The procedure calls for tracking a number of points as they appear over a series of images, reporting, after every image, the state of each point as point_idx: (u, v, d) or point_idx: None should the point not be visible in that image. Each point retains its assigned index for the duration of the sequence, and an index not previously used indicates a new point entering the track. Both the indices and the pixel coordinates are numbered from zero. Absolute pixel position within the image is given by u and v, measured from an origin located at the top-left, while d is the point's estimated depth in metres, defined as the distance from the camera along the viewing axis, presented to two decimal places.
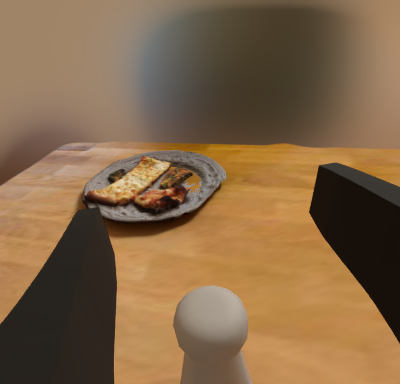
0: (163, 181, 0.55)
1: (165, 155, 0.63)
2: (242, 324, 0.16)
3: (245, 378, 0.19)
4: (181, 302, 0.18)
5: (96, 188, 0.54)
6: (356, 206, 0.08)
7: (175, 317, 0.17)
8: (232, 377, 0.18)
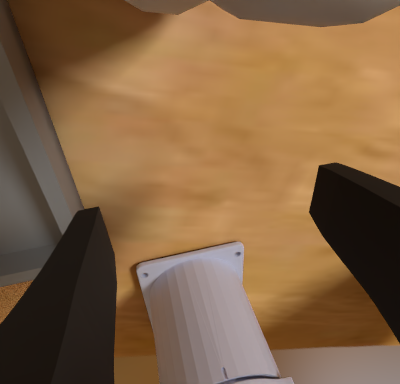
0: None
1: None
2: None
3: None
4: None
5: None
6: (356, 207, 0.08)
7: None
8: None
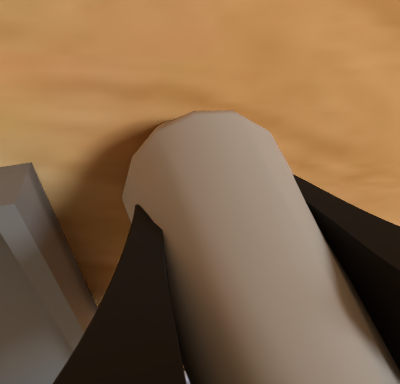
0: None
1: None
2: None
3: None
4: None
5: None
6: None
7: None
8: None
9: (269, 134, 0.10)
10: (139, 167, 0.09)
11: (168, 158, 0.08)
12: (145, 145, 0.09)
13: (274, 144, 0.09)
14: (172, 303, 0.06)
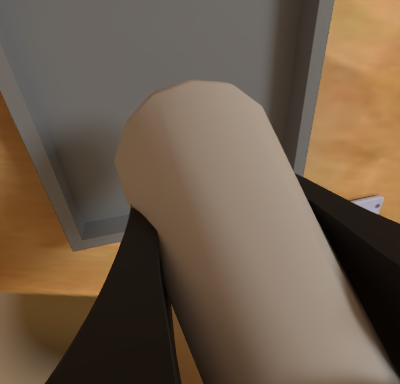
0: None
1: None
2: None
3: None
4: None
5: None
6: None
7: None
8: None
9: (261, 108, 0.10)
10: (135, 129, 0.09)
11: (165, 120, 0.08)
12: (141, 108, 0.09)
13: (266, 117, 0.10)
14: (163, 253, 0.07)
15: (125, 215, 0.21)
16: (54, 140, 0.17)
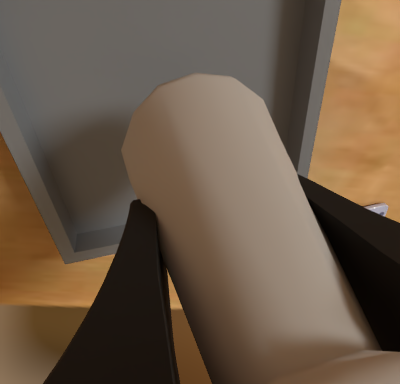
0: None
1: None
2: None
3: None
4: None
5: None
6: None
7: None
8: None
9: (262, 101, 0.10)
10: (141, 119, 0.09)
11: (169, 110, 0.09)
12: (147, 100, 0.10)
13: (266, 109, 0.10)
14: (165, 232, 0.07)
15: (120, 225, 0.20)
16: (44, 149, 0.16)
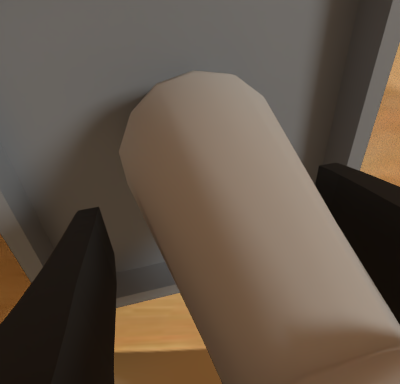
0: None
1: None
2: None
3: None
4: None
5: None
6: (356, 206, 0.08)
7: None
8: None
9: (263, 97, 0.10)
10: (139, 118, 0.09)
11: (168, 105, 0.08)
12: (145, 98, 0.09)
13: (267, 105, 0.10)
14: (167, 229, 0.07)
15: (122, 271, 0.17)
16: (28, 191, 0.13)
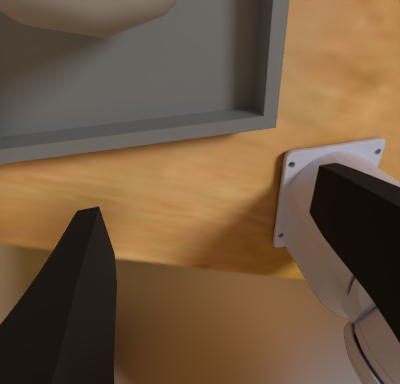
0: None
1: None
2: None
3: None
4: None
5: None
6: (356, 206, 0.08)
7: None
8: None
9: None
10: None
11: None
12: None
13: None
14: None
15: (54, 130, 0.17)
16: None
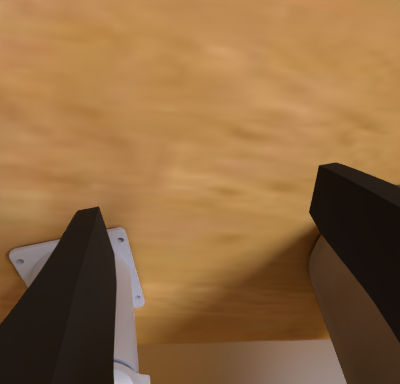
0: None
1: None
2: None
3: None
4: None
5: None
6: (356, 206, 0.08)
7: None
8: None
9: None
10: None
11: None
12: None
13: None
14: None
15: None
16: None
